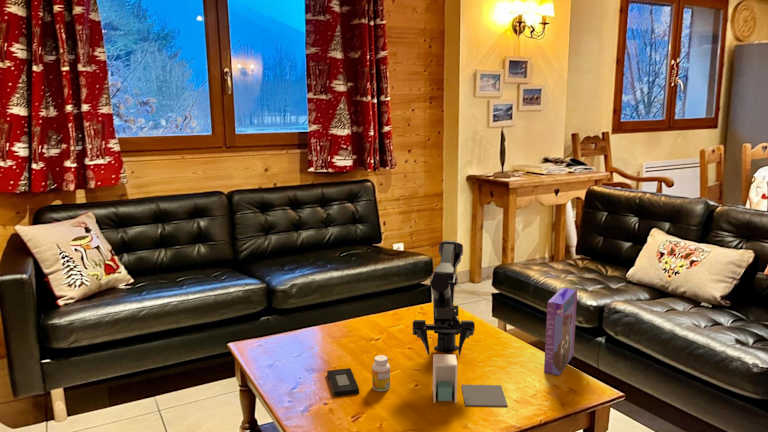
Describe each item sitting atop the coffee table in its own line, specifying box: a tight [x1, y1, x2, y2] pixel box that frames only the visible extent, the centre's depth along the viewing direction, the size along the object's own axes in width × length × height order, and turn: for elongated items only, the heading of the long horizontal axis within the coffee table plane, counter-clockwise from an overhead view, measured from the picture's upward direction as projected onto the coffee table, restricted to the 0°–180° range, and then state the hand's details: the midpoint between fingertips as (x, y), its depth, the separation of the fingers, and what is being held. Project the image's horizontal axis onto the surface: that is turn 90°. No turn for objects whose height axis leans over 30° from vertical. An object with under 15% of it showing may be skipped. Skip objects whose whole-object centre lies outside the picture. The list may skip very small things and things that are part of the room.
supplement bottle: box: [371, 354, 391, 392], centre depth 178 cm, size 5×5×10 cm
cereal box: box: [543, 286, 578, 377], centre depth 192 cm, size 17×5×24 cm, turn 148°
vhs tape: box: [326, 367, 360, 397], centre depth 182 cm, size 8×14×2 cm, turn 14°
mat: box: [461, 384, 508, 408], centre depth 174 cm, size 12×12×1 cm
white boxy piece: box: [432, 353, 458, 404], centre depth 172 cm, size 7×7×12 cm
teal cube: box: [436, 382, 453, 402], centre depth 173 cm, size 4×4×4 cm
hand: (444, 354), depth 175 cm, fingers open, 9 cm apart
